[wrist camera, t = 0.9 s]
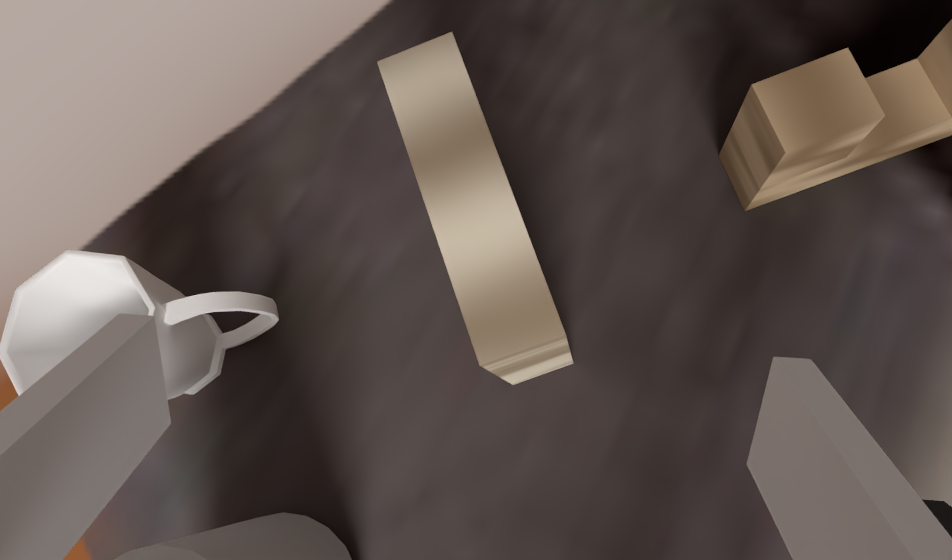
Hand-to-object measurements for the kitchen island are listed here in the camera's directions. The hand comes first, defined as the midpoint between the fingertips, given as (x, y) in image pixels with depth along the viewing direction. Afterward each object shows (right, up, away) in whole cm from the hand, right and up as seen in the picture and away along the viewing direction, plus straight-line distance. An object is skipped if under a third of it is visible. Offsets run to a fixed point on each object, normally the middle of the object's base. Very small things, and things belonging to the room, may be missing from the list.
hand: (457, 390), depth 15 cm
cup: (-13, -1, +20) cm, 24 cm away
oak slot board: (+18, +9, +17) cm, 27 cm away
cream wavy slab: (+2, +3, +19) cm, 19 cm away
